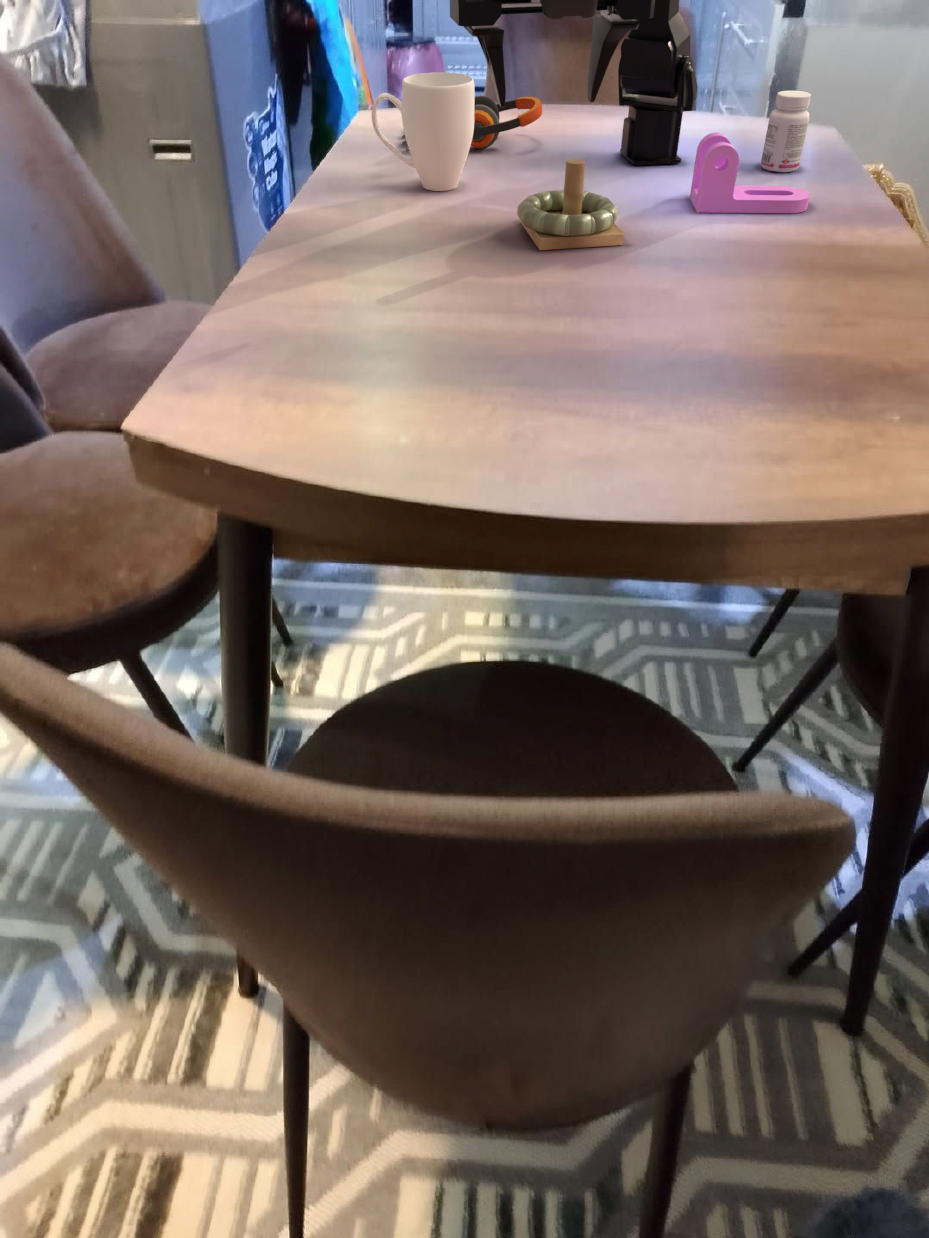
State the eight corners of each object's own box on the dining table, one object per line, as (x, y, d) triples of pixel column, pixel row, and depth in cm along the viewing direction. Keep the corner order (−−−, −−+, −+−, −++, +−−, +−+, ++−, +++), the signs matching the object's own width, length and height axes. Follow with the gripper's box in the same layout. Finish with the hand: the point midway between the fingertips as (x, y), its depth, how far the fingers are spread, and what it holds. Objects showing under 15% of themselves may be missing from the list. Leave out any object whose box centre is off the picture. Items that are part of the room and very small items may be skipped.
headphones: (399, 107, 131) (536, 71, 128) (409, 146, 134) (542, 112, 131) (390, 138, 118) (541, 99, 115) (401, 180, 122) (548, 143, 118)
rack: (599, 218, 102) (605, 147, 97) (623, 245, 95) (631, 171, 90) (520, 222, 100) (523, 151, 96) (539, 250, 94) (543, 175, 89)
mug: (474, 176, 114) (474, 72, 106) (473, 196, 108) (474, 87, 100) (379, 176, 114) (372, 72, 107) (372, 196, 108) (365, 87, 100)
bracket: (696, 212, 103) (707, 145, 99) (689, 197, 107) (699, 132, 103) (812, 213, 103) (828, 146, 98) (800, 198, 107) (815, 133, 102)
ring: (600, 204, 101) (601, 185, 100) (628, 235, 94) (630, 215, 92) (508, 210, 100) (509, 190, 99) (530, 241, 92) (531, 221, 91)
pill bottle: (801, 165, 118) (817, 91, 112) (794, 175, 114) (811, 99, 109) (763, 161, 119) (778, 88, 114) (756, 170, 116) (771, 95, 110)
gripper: (468, -82, 74) (469, 130, 84) (687, -88, 76) (662, 119, 87) (447, -93, 82) (450, 101, 93) (645, -98, 84) (626, 92, 95)
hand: (546, 104), depth 91 cm, fingers open, 9 cm apart
